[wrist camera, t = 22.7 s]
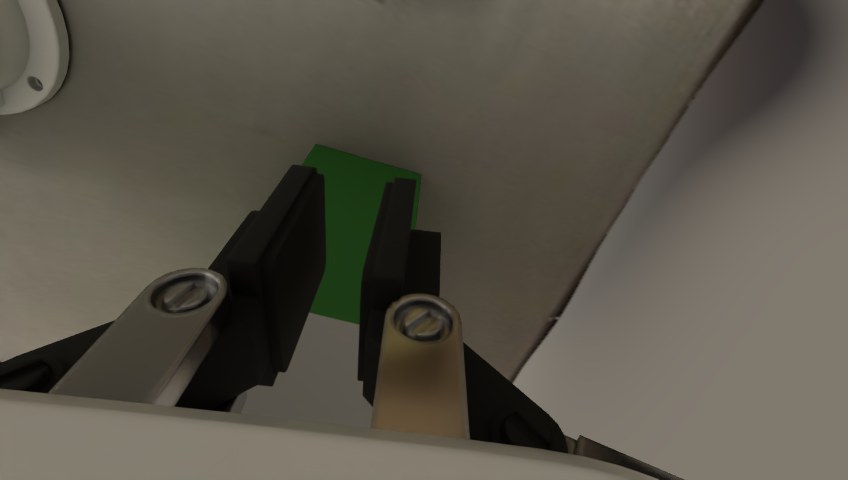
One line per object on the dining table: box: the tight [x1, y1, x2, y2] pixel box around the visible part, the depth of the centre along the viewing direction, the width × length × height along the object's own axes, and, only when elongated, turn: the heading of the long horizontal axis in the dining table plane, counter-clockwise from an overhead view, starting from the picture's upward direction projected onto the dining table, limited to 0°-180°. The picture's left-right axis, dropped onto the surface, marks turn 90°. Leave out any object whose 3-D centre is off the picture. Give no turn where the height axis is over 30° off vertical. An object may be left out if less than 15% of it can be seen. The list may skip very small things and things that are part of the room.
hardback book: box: [240, 144, 422, 428], centre depth 25 cm, size 18×7×24 cm, turn 163°
